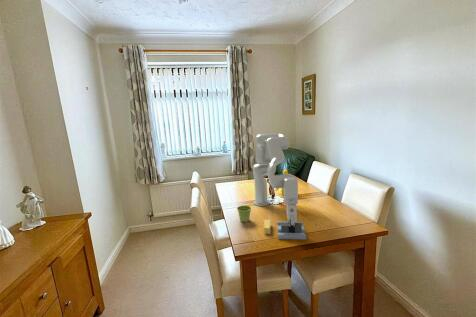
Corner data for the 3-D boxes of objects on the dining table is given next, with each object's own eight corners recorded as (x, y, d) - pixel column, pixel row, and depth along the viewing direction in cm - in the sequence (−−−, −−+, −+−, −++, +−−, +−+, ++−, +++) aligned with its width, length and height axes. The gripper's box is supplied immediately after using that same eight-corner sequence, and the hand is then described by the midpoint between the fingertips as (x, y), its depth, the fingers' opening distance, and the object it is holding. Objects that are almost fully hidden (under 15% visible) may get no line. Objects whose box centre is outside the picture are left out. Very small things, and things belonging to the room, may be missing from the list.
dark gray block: (300, 229, 130) (300, 223, 130) (301, 232, 127) (301, 225, 126) (281, 229, 132) (280, 223, 131) (281, 232, 129) (281, 225, 128)
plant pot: (243, 216, 159) (242, 204, 157) (254, 219, 153) (254, 207, 152) (234, 221, 152) (234, 208, 150) (246, 224, 146) (245, 212, 144)
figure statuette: (295, 192, 200) (295, 167, 196) (297, 195, 193) (296, 170, 189) (274, 193, 201) (274, 168, 197) (275, 196, 194) (275, 170, 190)
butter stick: (264, 225, 145) (264, 219, 144) (270, 225, 144) (270, 219, 143) (264, 234, 134) (264, 227, 133) (270, 234, 133) (270, 228, 133)
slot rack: (277, 225, 143) (277, 221, 143) (302, 225, 141) (302, 221, 141) (278, 238, 128) (278, 234, 127) (306, 239, 126) (306, 235, 125)
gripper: (299, 205, 118) (300, 238, 121) (296, 194, 134) (296, 224, 137) (285, 205, 119) (285, 238, 122) (283, 194, 135) (283, 223, 138)
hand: (291, 230), depth 129 cm, fingers closed on dark gray block, 3 cm apart
